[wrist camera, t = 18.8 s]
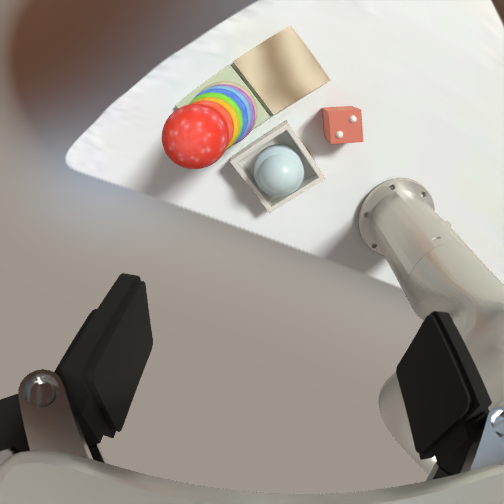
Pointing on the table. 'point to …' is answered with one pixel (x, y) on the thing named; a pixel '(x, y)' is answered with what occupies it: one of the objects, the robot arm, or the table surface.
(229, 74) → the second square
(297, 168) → the dome
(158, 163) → the table surface
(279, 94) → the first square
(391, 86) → the table surface
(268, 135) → the popper housing
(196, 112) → the stacking toy
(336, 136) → the die
